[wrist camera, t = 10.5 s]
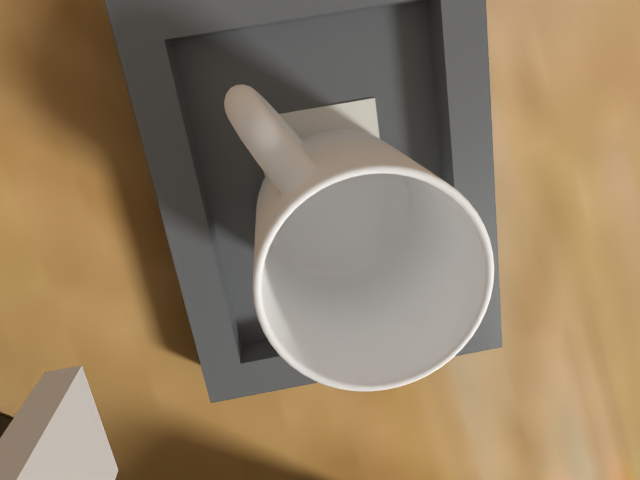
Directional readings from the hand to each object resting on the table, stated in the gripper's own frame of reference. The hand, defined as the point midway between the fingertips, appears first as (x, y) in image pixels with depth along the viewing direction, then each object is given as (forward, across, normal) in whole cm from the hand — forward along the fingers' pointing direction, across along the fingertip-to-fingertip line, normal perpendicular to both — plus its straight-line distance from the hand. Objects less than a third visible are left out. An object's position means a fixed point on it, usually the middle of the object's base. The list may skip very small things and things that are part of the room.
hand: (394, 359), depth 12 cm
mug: (+17, 0, +1) cm, 17 cm away
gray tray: (+18, +1, 0) cm, 18 cm away
